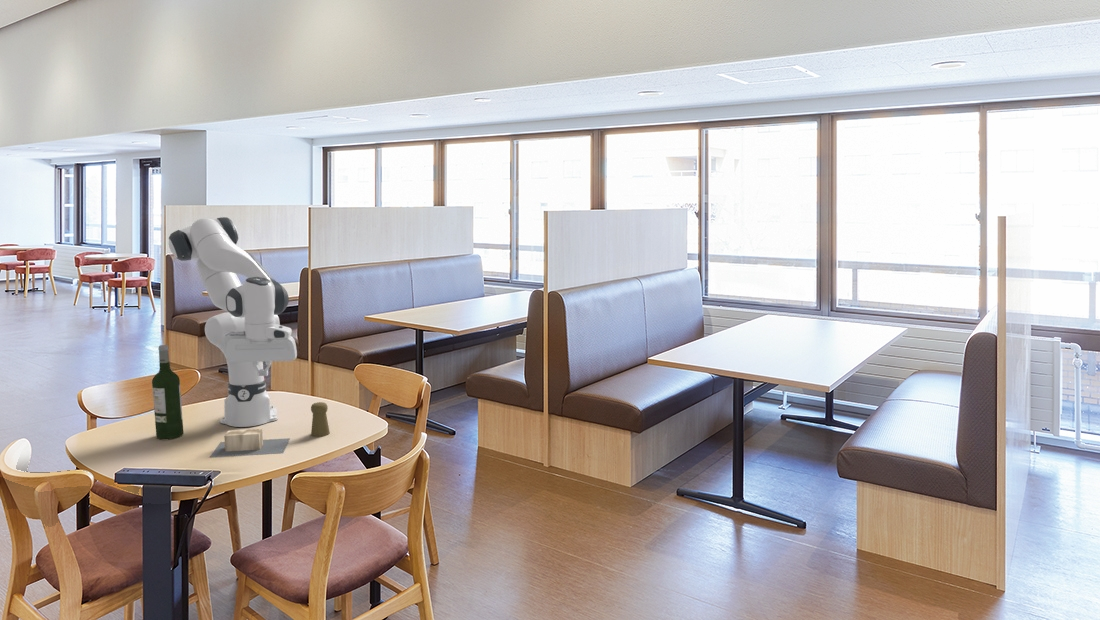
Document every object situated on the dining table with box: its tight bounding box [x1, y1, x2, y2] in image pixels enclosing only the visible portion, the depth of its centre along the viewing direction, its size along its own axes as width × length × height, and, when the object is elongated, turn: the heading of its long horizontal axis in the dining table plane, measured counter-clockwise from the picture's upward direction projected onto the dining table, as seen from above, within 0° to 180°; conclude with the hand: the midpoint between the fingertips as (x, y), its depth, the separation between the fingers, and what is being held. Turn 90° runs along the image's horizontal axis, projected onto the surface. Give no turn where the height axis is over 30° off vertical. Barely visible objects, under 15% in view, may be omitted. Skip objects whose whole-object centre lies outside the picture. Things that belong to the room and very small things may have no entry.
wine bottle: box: [151, 344, 184, 440], centre depth 239 cm, size 8×8×30 cm
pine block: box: [223, 428, 264, 452], centre depth 228 cm, size 5×5×10 cm
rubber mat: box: [209, 437, 291, 458], centre depth 229 cm, size 14×21×1 cm, turn 101°
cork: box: [310, 401, 331, 438], centre depth 242 cm, size 6×6×11 cm
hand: (262, 375), depth 227 cm, fingers closed
